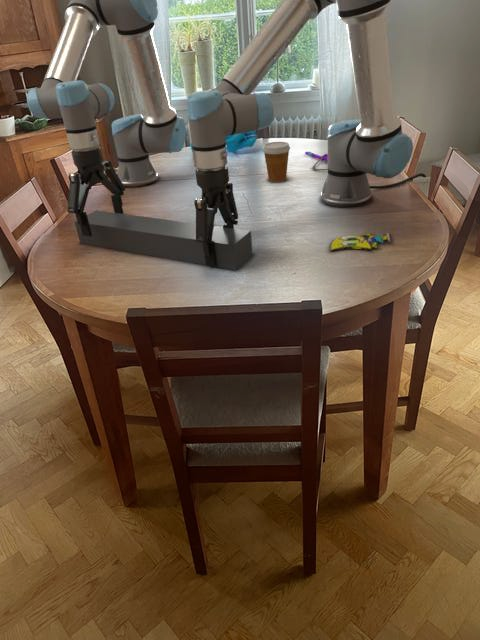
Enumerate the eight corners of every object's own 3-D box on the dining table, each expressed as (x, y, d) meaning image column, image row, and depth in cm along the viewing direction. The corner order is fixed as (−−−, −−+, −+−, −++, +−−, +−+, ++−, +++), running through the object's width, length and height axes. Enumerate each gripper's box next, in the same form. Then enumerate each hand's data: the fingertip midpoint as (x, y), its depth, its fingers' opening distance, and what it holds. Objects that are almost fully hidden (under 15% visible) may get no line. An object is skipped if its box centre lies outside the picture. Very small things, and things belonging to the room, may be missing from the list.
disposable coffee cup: (260, 182, 170) (258, 147, 164) (269, 174, 177) (267, 141, 171) (286, 183, 167) (285, 148, 160) (294, 175, 174) (293, 141, 168)
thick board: (80, 243, 137) (74, 221, 133) (101, 231, 143) (96, 210, 140) (235, 270, 115) (233, 245, 111) (252, 254, 121) (250, 230, 118)
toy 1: (195, 134, 218) (257, 114, 208) (203, 157, 223) (264, 139, 213) (184, 143, 204) (250, 123, 194) (193, 168, 209) (257, 149, 199)
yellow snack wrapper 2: (393, 247, 116) (330, 248, 119) (393, 250, 117) (330, 251, 119) (388, 230, 125) (329, 232, 127) (387, 233, 125) (329, 235, 127)
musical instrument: (342, 175, 173) (362, 153, 185) (341, 169, 172) (361, 148, 184) (283, 174, 186) (305, 153, 198) (282, 169, 184) (305, 148, 196)
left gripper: (60, 161, 113) (82, 245, 124) (128, 137, 131) (142, 212, 142) (37, 160, 116) (61, 241, 127) (107, 136, 134) (122, 210, 145)
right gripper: (199, 182, 99) (211, 278, 111) (248, 155, 115) (253, 241, 127) (170, 180, 102) (185, 273, 114) (221, 153, 118) (229, 238, 130)
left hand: (104, 226), depth 135 cm, fingers open, 13 cm apart
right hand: (221, 257), depth 121 cm, fingers closed on thick board, 9 cm apart
